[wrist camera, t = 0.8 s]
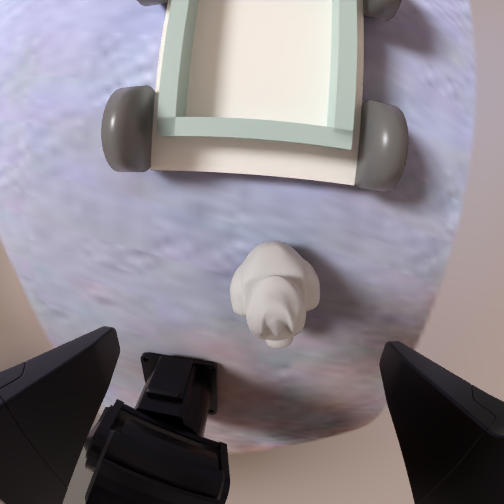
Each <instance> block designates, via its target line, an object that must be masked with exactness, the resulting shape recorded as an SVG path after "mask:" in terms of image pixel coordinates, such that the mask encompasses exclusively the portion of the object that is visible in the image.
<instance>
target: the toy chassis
mask: <svg viewBox="0 0 504 504" xmlns="http://www.w3.org/2000/svg"><path fill="white" fill-rule="evenodd" d="M137 1H138V2H139V3H140V4H141V5H143V6H150V5H157V4H164V3H168V4H167V9H166V15H165V20H164V26H163V33H162V39H161V46H160V54H159V62H158V70H157V79H156V89H155V91H154V90H153V89H152V87H150V86H135V87H126V88H120V89H118V90H116V91H115V92H114V93H113V94H112V95H111V97H110V98H109V100H108V102H107V104H106V107H105V110H104V114H103V119H102V128H101V137H102V146H103V151H104V154H105V157H106V160H107V162H108V164H109V165H110V167H111V168H112V169H113V170H115V171H117V172H145V171H147V170H148V169H149V168H150V167H151V170H170V171H201V172H222V173H238V174H253V175H265V176H277V177H287V178H297V179H307V180H316V181H324V182H332V183H340V184H347V185H354V183H355V184H356V185H357V187H359V188H363V189H370V190H376V191H383V192H388V191H391V190H392V189H393V188H394V187H395V186H396V185H397V183H398V181H399V180H400V178H401V175H402V173H403V170H404V167H405V163H406V159H407V153H408V128H407V123H406V119H405V116H404V114H403V112H402V111H401V110H400V109H399V108H398V107H397V106H393V105H389V104H385V103H381V102H376V101H372V100H367V101H366V102H365V103H364V104H363V105H362V92H363V65H364V18H363V15H366V16H370V17H373V18H377V19H381V20H384V21H388V20H390V19H391V18H392V17H393V16H394V15H395V13H396V12H397V10H398V8H399V6H400V3H401V0H137Z"/></svg>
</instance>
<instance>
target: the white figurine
mask: <svg viewBox="0 0 504 504" xmlns="http://www.w3.org/2000/svg"><path fill="white" fill-rule="evenodd" d="M230 297H231V303H232V307H233V310H234V311H235V313H237V314H238V315H240V316H246V319H247V324H248V326H249V329H250V330H251V332H252V333H253V334H254V335H255V336H256V337H259V338H261V339H265V340H266V343H267V344H268V345H269V346H270V347H273V348H283V347H286V346H288V345H289V344H291V342H292V340H293V336H295V335H297V334H298V333H300V331H301V330H302V329H303V327H304V325H305V321H306V312H307V311H309V310H312V309H314V308H316V307H317V305H318V304H319V301H320V283H319V279H318V276H317V274H316V272H315V270H314V269H313V267H312V266H311V265H310V264H309V262H307V261H306V260H305V259H303V258H302V257H301V256H300V255H299V254H298V253H297V252H296V251H295V250H294V249H293V248H292V247H290V246H289V245H287V244H286V243H284V242H279V241H271V242H264V243H261V244H259V245H257V246H255V247H254V249H253V250H252V251H251V252H250V253H249V254H248V255H247V257H246V258H245V260H244V262H243V263H242V264H241V265H240V266H239V267H238V269H237V270H236V272H235V273H234V276H233V278H232V281H231V284H230Z"/></svg>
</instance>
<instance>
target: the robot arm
mask: <svg viewBox="0 0 504 504" xmlns="http://www.w3.org/2000/svg"><path fill="white" fill-rule="evenodd" d="M119 354H120V346H119V342H118V337H117V332H116V330H115V329H114V328H113V327H106V326H103V327H101V328H99V329H96V330H94V331H92V332H90V333H88V334H85V335H83V336H81V337H79V338H76V339H74V340H72V341H70V342H68V343H65V344H63V345H61V346H59V347H57V348H54V349H52V350H50V351H48V352H45V353H43V354H41V355H39V356H37V357H34V358H32V359H30V360H28V361H26V362H23V363H21V364H19V365H16V366H14V367H12V368H9V369H7V370H4V371H2V372H0V504H62V503H63V500H64V497H65V494H66V492H67V489H68V488H67V487H68V485H69V483H70V480H71V477H72V475H73V472H74V469H75V466H76V464H77V461H78V459H79V456H80V454H81V451H82V449H83V446H84V448H85V450H86V459H87V460H86V464H85V468H86V469H88V470H90V471H92V472H94V474H93V476H92V479H91V482H90V484H89V487H88V490H87V492H86V495H85V501H86V504H225V502H226V499H227V496H228V492H229V487H230V474H229V464H228V452H227V444H225V443H222V442H216V441H213V440H210V439H207V438H204V437H203V436H204V431H205V426H206V421H207V416H208V414H216V412H217V365H216V364H215V363H213V362H206V361H198V360H191V359H184V358H177V357H170V356H164V355H158V354H152V353H143V354H142V356H141V363H142V368H143V373H144V378H145V383H146V384H145V386H144V389H143V391H142V393H141V395H140V397H139V400H138V402H137V404H136V406H135V409H134V408H132V407H130V406H128V405H126V404H124V402H122V401H120V400H118V399H117V400H116V402H115V404H114V406H112V405H111V406H110V407H105V409H104V411H103V413H102V415H101V417H100V419H99V421H98V422H97V424H96V425H95V426H94V427H93V429H92V430H91V431H90V429H91V426H92V424H93V422H94V420H95V417H96V415H97V413H98V410H99V408H100V406H101V403H102V401H103V399H104V397H105V395H106V392H107V390H108V387H109V384H110V381H111V378H112V375H113V372H114V369H115V366H116V363H117V360H118V357H119ZM146 358H148V359H146ZM209 367H211V368H213V369H210V368H209ZM380 371H381V376H382V381H383V386H384V391H385V396H386V400H387V404H388V408H389V411H390V414H391V417H392V421H393V424H394V427H395V430H396V434H397V437H398V440H399V444H400V448H401V451H402V455H403V458H404V462H405V466H406V470H407V474H408V478H409V481H410V485H411V490H412V494H413V498H414V503H415V504H504V402H503V401H501V400H499V399H497V398H495V397H493V396H491V395H489V394H487V393H485V392H484V391H482V390H480V389H479V388H477V387H475V386H474V385H471V384H470V383H468V382H467V381H465V380H463V379H462V378H460V377H458V376H456V375H455V374H453V373H451V372H449V371H448V370H446V369H445V368H443V367H441V366H440V365H438V364H436V363H434V362H433V361H431V360H430V359H428V358H426V357H424V356H423V355H421V354H419V353H418V352H416V351H414V350H413V349H411V348H409V347H408V346H406V345H404V344H403V343H401V342H399V341H388V342H387V343H386V344H385V347H384V350H383V353H382V356H381V359H380ZM89 431H90V432H89Z"/></svg>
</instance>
